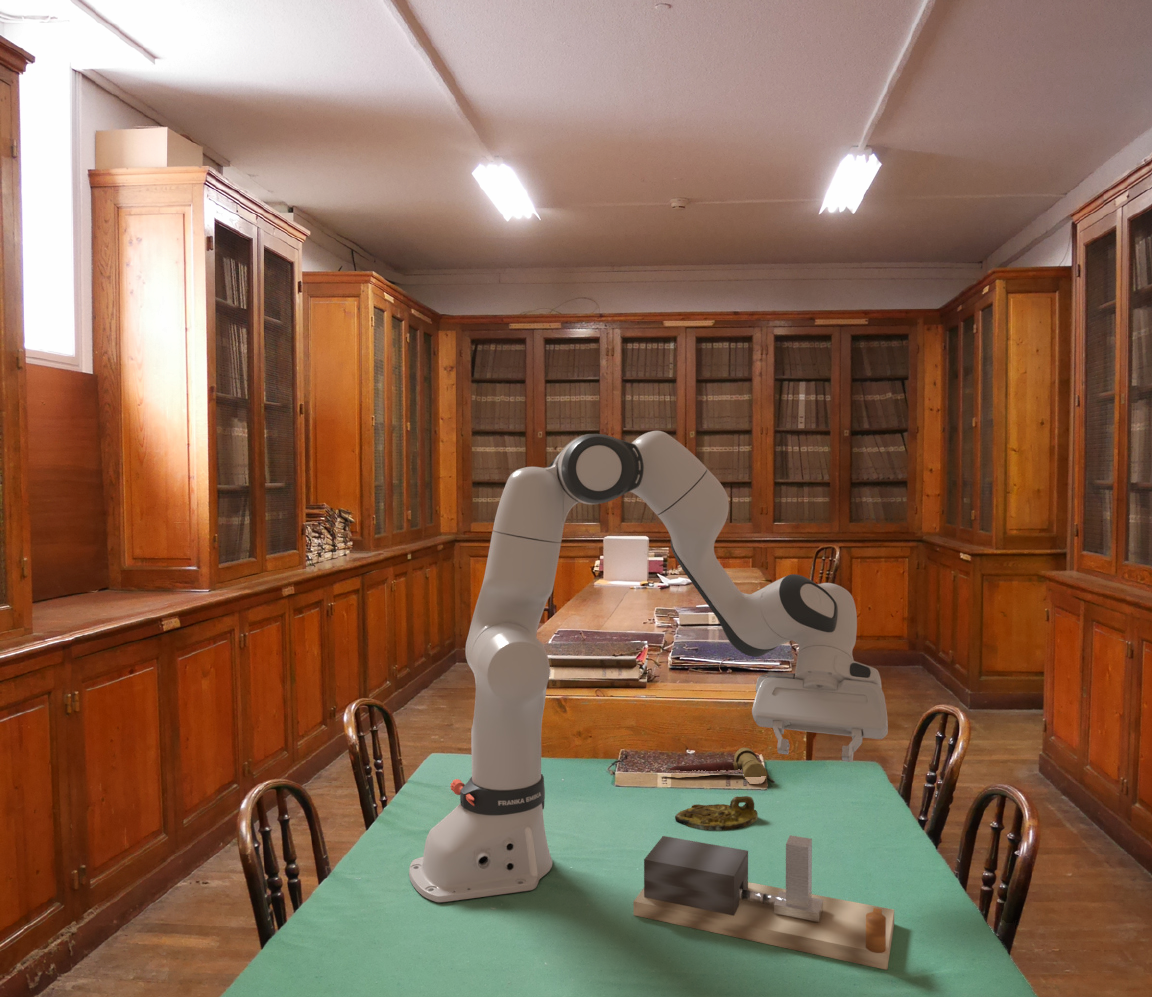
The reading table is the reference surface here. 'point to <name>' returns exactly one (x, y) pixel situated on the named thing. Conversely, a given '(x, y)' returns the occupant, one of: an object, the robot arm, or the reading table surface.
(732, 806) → the seal
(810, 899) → the chain end
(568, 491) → the robot arm
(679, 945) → the reading table surface
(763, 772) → the gavel
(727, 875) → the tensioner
